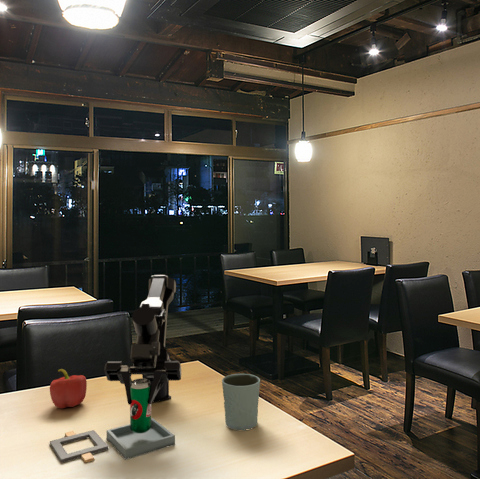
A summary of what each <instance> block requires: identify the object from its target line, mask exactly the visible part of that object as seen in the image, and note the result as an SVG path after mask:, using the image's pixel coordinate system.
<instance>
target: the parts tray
mask: <svg viewBox="0 0 480 479" xmlns="http://www.w3.org/2000/svg"><path fill="white" fill-rule="evenodd" d="M106 440H107V441H108V443H110V444H111V446H112V447H114V449H115V450H116V451H117V452H118V453H119V454H120V455H121V457H122V458H123V459H124V460H130V459H132V458H136V457H139V456H142V455H145V454H149V453H152V452H154V451H155V452H156V451H159V450H161V449H162V450H163V449H166V448H168V447H171V446H175V445H176V435H175V434H174V433H173V432H171V431H170V430H169V429H168V428H166V427H165V426H163V425H162V423H160V422H159V421H157V420H156V419H155V418H153V417H151V428H150V430H149V431H147V432H145V433H134V432H132V431H131V429H130V423H129V424H125V425H121V426H117V427H113V428H109V429H106Z"/></svg>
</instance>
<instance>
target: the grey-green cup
mask: <svg viewBox="0 0 480 479" xmlns="http://www.w3.org/2000/svg"><path fill="white" fill-rule="evenodd" d="M221 383H222V384H221V385H222V392H223V393H222V396H223V405H224V406H223V407H224V416H225V417H224V419H225V420H224V421H225V426H226V425H227V426H228V427H229V428H228V427H227V426H226V427H227V428H228V429H230V428H231V430H233V429H235V430H234V431H239V430H244V431H247V430H246V429H250V430H252V429H251V428H253V427H255V426H256V427H257V425H258V416H259V415H258V414H259V411H258V410H259V401H260V400H259V398H260V386H261V378H260V377H258V376H256V375H254V374H250V373H234V374H230V375H226V376H224V377H223V378H222V379H221ZM256 427H255V428H256ZM253 429H254V428H253Z"/></svg>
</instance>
